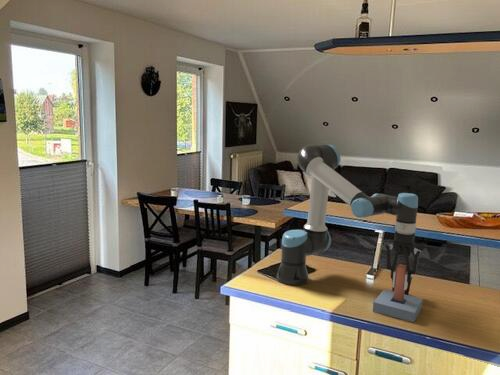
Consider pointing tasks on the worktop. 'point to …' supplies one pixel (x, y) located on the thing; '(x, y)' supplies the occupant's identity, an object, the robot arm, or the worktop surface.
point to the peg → (400, 282)
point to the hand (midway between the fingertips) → (399, 287)
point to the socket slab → (398, 306)
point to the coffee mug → (407, 286)
